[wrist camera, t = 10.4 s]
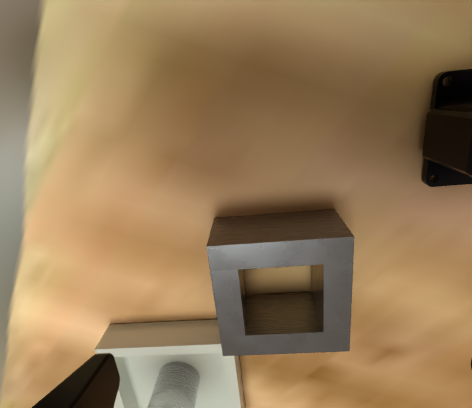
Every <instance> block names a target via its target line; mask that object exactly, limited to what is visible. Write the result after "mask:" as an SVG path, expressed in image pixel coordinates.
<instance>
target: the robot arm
mask: <svg viewBox="0 0 472 408" xmlns="http://www.w3.org/2000/svg"><path fill="white" fill-rule="evenodd" d="M445 77H447V79H448V82H447V84H446V85H445V86H444V85H443V83H442V81H443V79H444V78H445ZM423 156H424V157H425V159H424V167H423V176H422V180H423V182H424V183H425V184H427V185H429V186H431V187H436V186H449V185H462V184H472V69H466V70H456V71H447V72H442V73H440V74H438V75H437V76H436V78H435V79H434V83H433V92H432V100H431V108H430V111H429V112H428V114H427V120H426V129H425V137H424V146H423ZM433 175H435V178H434V179H433V180H432V181H430V178H431V176H433ZM471 368H472V360H471ZM119 385H120V375H119V371H118V368H117V365H116V362H115V358H114V356H113V355H112V354H111V353H98V354H95V355H94V356H92V357H91V358H90V359H89V360H88V361H86V362H85V363H84V364H83V365H82V366H80V367H79V368H78V369H77V370H76V371H74V372H73V373H72V374H71V375H70V376H69V377H67V378H66V379H65V380H64V381H63V382H61V383H60V384H59V385H58V386H57V387H56V388H54V389H53V390H52V391H51V392H50V393H48V394H47V395H46V396H45V397H44V398H43V399H41V400H40V401H39V402H38V403H37V404H35V405H34V406H33V407H32V408H114V404H115V400H116V396H117V393H118V389H119Z"/></svg>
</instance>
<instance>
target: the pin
mask: <svg viewBox="0 0 472 408" xmlns="http://www.w3.org/2000/svg"><path fill="white" fill-rule="evenodd" d="M199 382H200V375H199V373H198V371H197V370H196V369H195V368H194V367H193V366H191V365H190V364H187V363H185V362H179V361H174V362H169V363H167V364H165V365H164V366H162V368H161V369H160V371H159V374H158V377H157V380H156V383H155V386H154V389H153V392H152V395H151V398H150V401H149V404H148V407H147V408H195V404H196V399H197V393H198V388H199Z"/></svg>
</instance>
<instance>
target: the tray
mask: <svg viewBox="0 0 472 408" xmlns="http://www.w3.org/2000/svg"><path fill="white" fill-rule="evenodd" d="M95 351H96V354H98V353H111V354H112V355H113V356H114V358H115V362H116V365H117V368H118V371H119V375H120V385H119V389H118V393H117V396H116V400H115V404H114V408H147V407H148V404H149V401H150V398H151V395H152V392H153V389H154V386H155V383H156V380H157V377H158V374H159V371H160V369H161V368H162V366H164V365H165V364H167V363H169V362H174V361H179V362H185V363H187V364H190V365H191V366H193V367H194V368H195V369H196V370H197V371H198V373H199V375H200V382H199V388H198V393H197V399H196V404H195V408H245V400H244V392H243V384H242V376H241V368H240V360H239V356H223V354H222V347H221V341H220V334H219V327H218V320H217V319H211V320H190V321H170V322H149V323H129V324H110V325H109V327H108V328H107V330H106V332H105V333H104V335H103V337H102V338H101V340H100V342H99V343H98V345H97V347H96V348H95Z"/></svg>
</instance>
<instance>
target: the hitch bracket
mask: <svg viewBox="0 0 472 408" xmlns="http://www.w3.org/2000/svg"><path fill="white" fill-rule="evenodd" d="M206 247H207V253H208V260H209V267H210V273H211V280H212V287H213V294H214V300H215V307H216V314H217V320H218V327H219V334H220V341H221V347H222V354H223V356H239V355H264V354H290V353H315V352H340V351H349V350H350V326H351V302H352V277H353V253H354V236H353V234H352V233H351V231H350V230H349V229H348V227H347V226H346V224H345V223H344V222H343V220H342V219H341V217H340V216H339V215H338V213H337V212H336V210H335V209H330V210H317V211H303V212H290V213H276V214H263V215H249V216H236V217H222V218H214V221H213V225H212V229H211V232H210V236H209V239H208V243H207V246H206ZM304 265H311V292H294V293H275V294H257V295H246V289H245V280H244V270H243V269H255V268H271V267H288V266H304Z"/></svg>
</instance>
